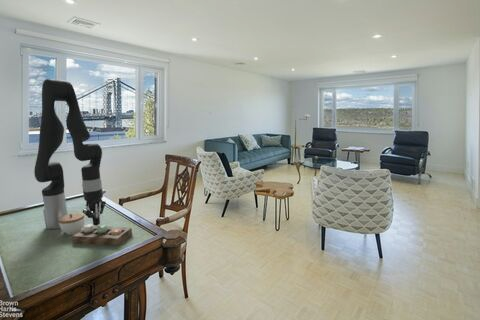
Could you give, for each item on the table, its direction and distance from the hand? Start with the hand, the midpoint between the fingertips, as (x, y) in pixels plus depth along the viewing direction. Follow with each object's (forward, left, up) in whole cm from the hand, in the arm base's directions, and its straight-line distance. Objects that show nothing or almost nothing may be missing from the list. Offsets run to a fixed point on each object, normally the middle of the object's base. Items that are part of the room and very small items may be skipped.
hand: (96, 224), depth 124 cm
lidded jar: (-17, +4, -7) cm, 19 cm away
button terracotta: (+10, -1, -5) cm, 11 cm away
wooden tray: (+3, -1, -6) cm, 7 cm away
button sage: (+3, -1, -3) cm, 4 cm away
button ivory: (-4, -1, -3) cm, 5 cm away
